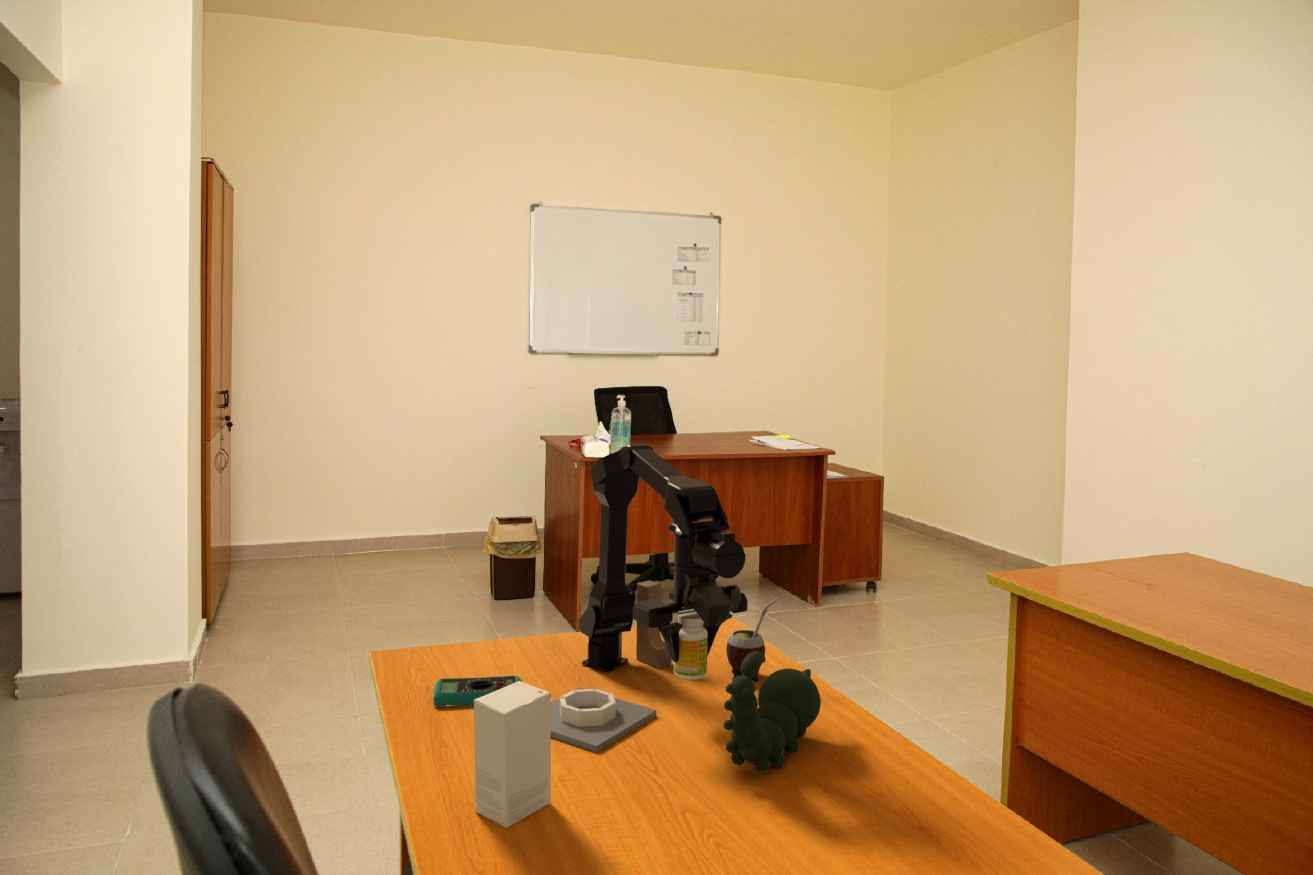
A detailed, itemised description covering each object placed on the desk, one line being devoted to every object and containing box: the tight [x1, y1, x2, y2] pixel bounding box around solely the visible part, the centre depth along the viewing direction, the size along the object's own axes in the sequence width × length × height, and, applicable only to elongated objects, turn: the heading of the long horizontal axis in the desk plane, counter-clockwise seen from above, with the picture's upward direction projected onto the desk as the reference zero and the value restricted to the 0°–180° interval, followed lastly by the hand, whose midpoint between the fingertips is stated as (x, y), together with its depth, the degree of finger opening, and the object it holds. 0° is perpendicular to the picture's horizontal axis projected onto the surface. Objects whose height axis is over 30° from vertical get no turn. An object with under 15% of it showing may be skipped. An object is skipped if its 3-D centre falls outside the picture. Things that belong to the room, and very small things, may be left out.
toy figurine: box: [722, 651, 822, 773], centre depth 135 cm, size 9×19×25 cm
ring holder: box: [550, 687, 657, 753], centre depth 146 cm, size 16×16×4 cm
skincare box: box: [473, 681, 552, 829], centre depth 118 cm, size 8×7×16 cm
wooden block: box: [635, 580, 673, 669], centre depth 172 cm, size 7×3×15 cm, turn 43°
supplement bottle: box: [673, 612, 708, 680], centre depth 145 cm, size 5×5×10 cm
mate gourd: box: [725, 597, 780, 683], centre depth 165 cm, size 8×8×15 cm
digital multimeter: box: [433, 675, 523, 707], centre depth 155 cm, size 7×15×3 cm, turn 99°
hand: (690, 658), depth 146 cm, fingers closed on supplement bottle, 5 cm apart
